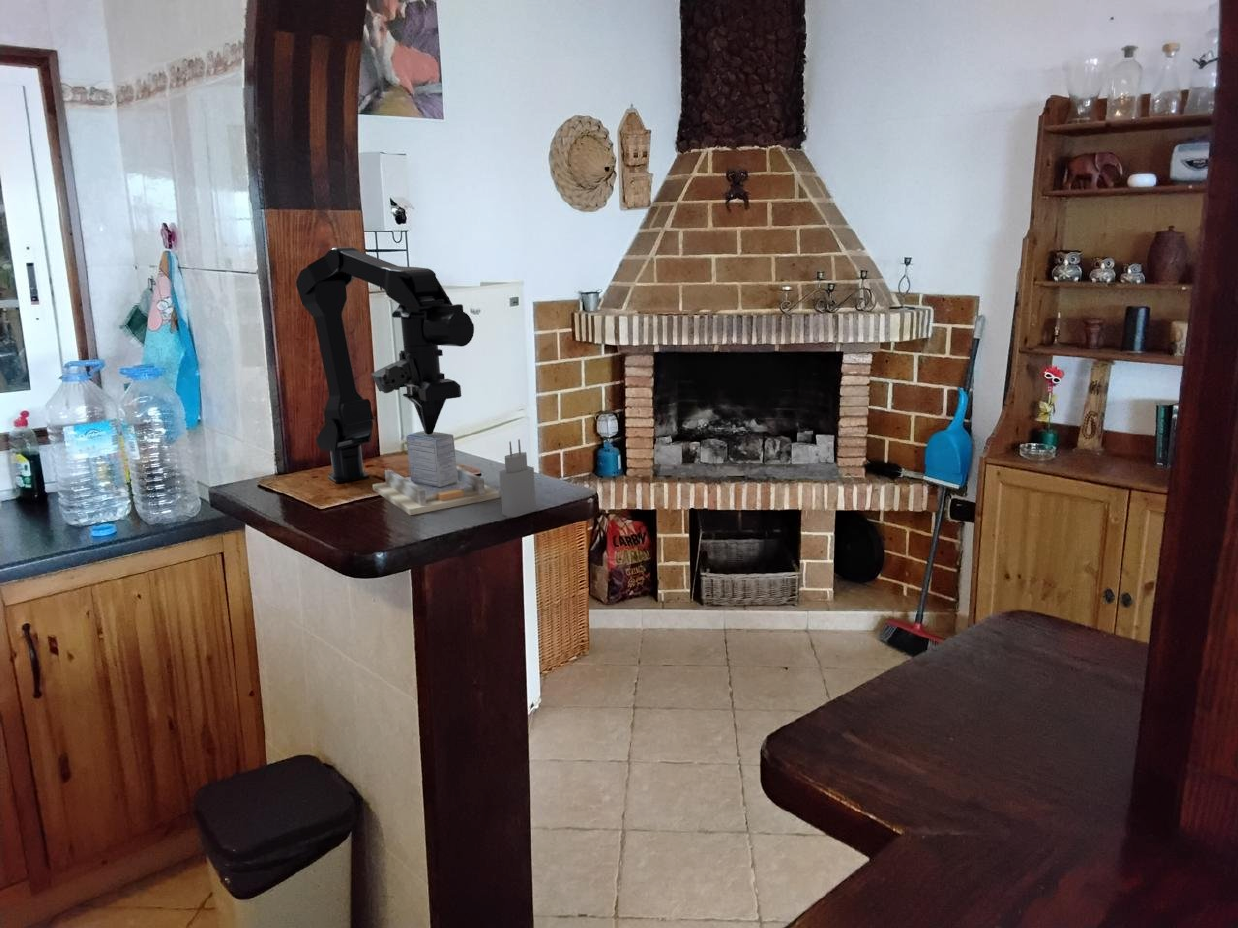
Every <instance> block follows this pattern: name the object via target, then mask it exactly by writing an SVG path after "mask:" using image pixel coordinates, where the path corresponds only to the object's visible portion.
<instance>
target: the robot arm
mask: <svg viewBox="0 0 1238 928" xmlns="http://www.w3.org/2000/svg"><path fill="white" fill-rule="evenodd" d="M355 278H356V279H359V280H361V281H364V282H366V283H369V284H372V285H374V286H376V287H377V288H378V287H379V288H381V289H382V290H383V291H384V292H385V295H386V296H387V297H388V298H390V299H391V300H392V301H394V302H395V303H398V307H397V308H396V309H395V310H394V311H393V312H392V314H391V316H392V318H397V319H398V318H399V319H400V323H401V331H402V332H401V333H402V334H401V335H402V343H403V345H402V346H403V350H399V351H400V352H399V354H398V355H399V356H398V357H399V360H397V361H395V362H392V363H390V364H388V365H385V366H384V367H382V368H379V369H378V370H376V371H374V372H372V373H371V377H372V379H373V381H374V383H375V385H376V387H377V390H378V391H379V392H382V393H384V394H389V393H392V392H394V391H398V390H400V388H406V393H403V394H402V396H403V397H404V398H405V399H407V400H408V401H409V402H410V403H412V404H413V405H414V407H415V411H416V412H417V415H418V418H419V421H420V424H421V427H422V428H423V431H424V432H425V434H432V433H433V432H435V428H436V425H437V423H438V420H439V418H440V414H441V412H442V409H443V407H444V405H445V403H446V400H449V399H457V398H462V388H461V386H462V385H460V384H459V383H458V382H457V381H456V380H454V379H450V378H446V377H445V373H443V372H441V367H440V357H442V356H443V354H444V353H443V349H440V348H439V346H443V347H446V346H447V347H465V346H467V345H468V344H469V343H471V341H472V339H473V337H474V333H475V325H474V322H473V321H472V318H471V317H470V315H469V314H468V312H467V313H466V312H465V311H464V305H463V304H462V303H461V304H459V303H458V304H457V303H456V304H453V303H452V301H451V299H450V297H449V296H448V295H447V293H446V291H445V290H444V288H443V286H442V285H441V283H440V281H439V280H438V278H437V274H436V272H435V271H434V270H432V269H431V268H427V267H419V266H403V265H401V266H400V265H396V264H394V263H391V262H389V261H386V260H383V259H381V258H378V257H375V256H373V255H370V254H367V253H365V252H362V251H360V250H359V249H357V248H355V247H352V246H348V247H347V246H345V247H333V248H331V249H330V250H328V251H327V252H326V253H325V254H324V256H323V255H322V257H321V258H319V259H317V260H315V261H313V262H311V263H310V264H307V266H306V267H304V268H303V269H301V270H300V272H299V274H298V275H297V277H296V279H295V281H296V282H295V287H296V289H297V293H298V295H299V299H300V302H301V304H302V307H304V308H305V310H306V311H307V312H308V314H309V315H311V317H312V319H313V321H314V325H315V329H316V330H315V331H316V335H317V340H318V346H319V350H320V355H321V359H322V364H323V370H324V375H325V379H326V384H327V385H326V386H327V390H328V398H327V401H326V404H325V406H324V409H323V416H324V424H323V427H322V428H321V430H320V432H319V433H318V435H317V437H316V444H317V446H318V449H319V450H320V451H328V452H329V453H330V462H331V470H332V473H328V474H327V478H329V479H330V480H332V481H333V482H334V483H337V484H338V483H344V482H350V481H356V480H362V479H368V478H370V476H371V475H370V474H369V473H368V472H366V471H365V470H364V464H363V454H362V453H363V452H362V445H365V444H370V443H371V441H372V432H373V428H374V420H375V416H374V414H373V411H372V404H371V401H370V399H369V398H363V397H362V395H361V394H360V393H359V392H358V390H357V386H356V381H355V376H354V371H353V365H352V360H351V355H350V350H349V347H348V344H349V343H348V341H347V340H348V339H347V336H346V330H345V325H344V321H343V320H344V319H343V312H344V309H345V306H346V304H347V300H348V292H347V287H348V286H349V285H351V283H352V282H353V281H355Z"/></svg>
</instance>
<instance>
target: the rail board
mask: <svg viewBox="0 0 1238 928" xmlns="http://www.w3.org/2000/svg"><path fill="white" fill-rule="evenodd" d="M456 466H457V475H458V479H459V480H461V481H463V482H465V483H467V484H469V485H471V486H473V492H471V493H466V494H463V497H459V498H454V499H449V500H443V501H440V500H439V499H434V500H429V501H426V498H425V490H424V489H422V488H420V487H419V486H417V485H415V484H414V483H412V482H410V481H409V480H407V479H405V478H406V477H404V476H402V475H400V474H399V473H397V472H395V471H393V470H392V469H385V470H384V478H385V481H384V482H379V483H373V484H372V491H374V492H375V493H377V494H378V495H380V496H381V497H383V498H384V499H386V500H387V501H389V502H390V503H391V504H393V505H394V506H396V507H398V508H399V509H400V510H402V511H403V512H404V513H406V514H408V515H409V516H413V515H414V516H415V515H419V514H423V513H424V514H425V513H428V512H433V511H440V510H445V509H448V508H453V507H460V506H464V505H469V504H475V503H480V502H484V501H491V500H495V499H501V496H500V491H498V490H496V489H494V488H491V487H490V486H488V485H486V484H485V479H484V478H482V477H480V476H479V475H476V474H474V473H472V472H471V471H468V470H467V469H464V468H463V467H460V466H458V465H456Z"/></svg>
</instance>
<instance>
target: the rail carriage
mask: <svg viewBox="0 0 1238 928" xmlns="http://www.w3.org/2000/svg"><path fill="white" fill-rule="evenodd" d="M404 478H405V479H407V480H409V481H410V482H411V477H410V476H407V477H404ZM412 483H414V484H415V485H417V486H419V487H420V488H422V489H424V490H425V498H426V501H429V500H434V499H439V500H440V501H443V500H449V499H454V498H459V497H463V494H466V493H471V492H473V486H471V485H469V484H467V483H465V482H463V481H461V480H459V479H458V481H457V482H456V483H453V484H449V485H446V486H443V487H437V486H432V485H427V484H422V483H416V482H412Z"/></svg>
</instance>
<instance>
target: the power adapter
mask: <svg viewBox="0 0 1238 928" xmlns="http://www.w3.org/2000/svg"><path fill="white" fill-rule="evenodd" d="M517 442H518V452H515V453H513V451H512V450H513V448H512V442H511V441H509V442H508V443H509V454H507V455H504V466H505V468H504V469H503V470H500V471H499V484H500V499H501V510H502V511H501V514H502V516H505V517H507V518H508V517H509V518H518V517H521V516H523V515H526V514H530V513H533V512H536V511H537V498H536V486H535V484H536V483H535V467H534V466H531V465H530V466H529V465H528V458H527V457H528V456H527V452H524V451H521V439H517Z"/></svg>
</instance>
